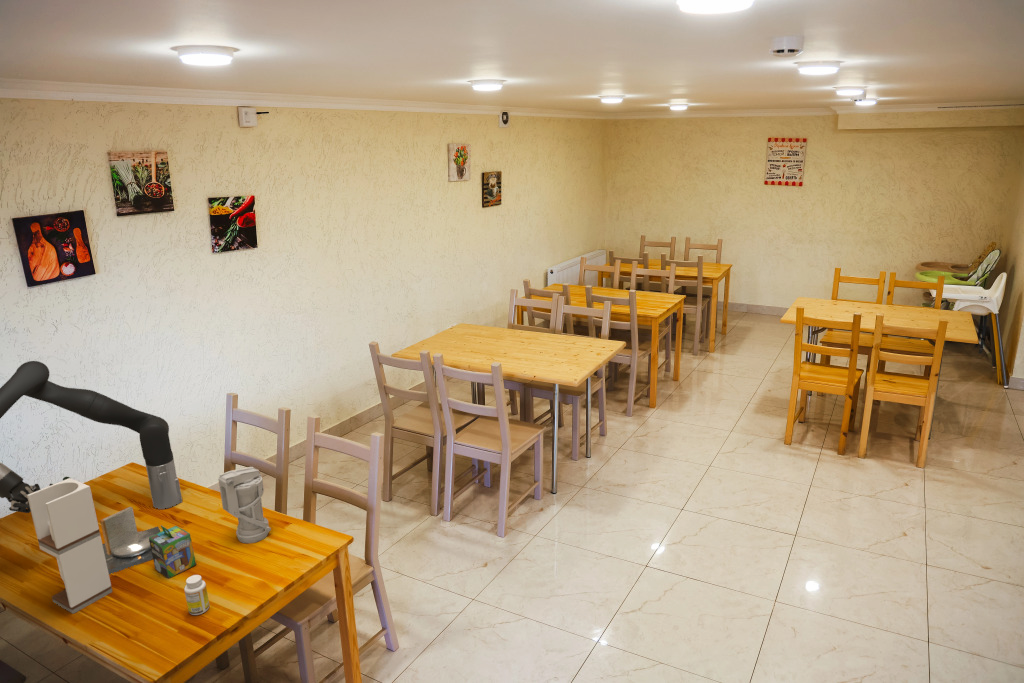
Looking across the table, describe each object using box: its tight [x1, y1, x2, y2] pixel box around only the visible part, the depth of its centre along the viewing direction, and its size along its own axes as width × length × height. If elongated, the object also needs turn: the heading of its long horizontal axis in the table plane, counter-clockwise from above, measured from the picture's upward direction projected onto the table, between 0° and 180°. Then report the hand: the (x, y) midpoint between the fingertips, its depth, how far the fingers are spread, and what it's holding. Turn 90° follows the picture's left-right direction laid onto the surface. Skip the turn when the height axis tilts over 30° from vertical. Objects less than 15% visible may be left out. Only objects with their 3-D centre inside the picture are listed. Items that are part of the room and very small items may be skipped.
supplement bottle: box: [183, 574, 210, 616], centre depth 194 cm, size 6×6×10 cm
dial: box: [99, 506, 155, 558], centre depth 222 cm, size 15×13×14 cm
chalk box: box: [149, 524, 197, 580], centre depth 214 cm, size 9×9×15 cm
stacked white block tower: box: [27, 477, 113, 614], centre depth 198 cm, size 11×11×35 cm
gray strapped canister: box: [218, 466, 272, 544], centre depth 228 cm, size 13×10×25 cm
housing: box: [102, 526, 162, 575], centre depth 225 cm, size 18×18×2 cm
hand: (48, 514), depth 213 cm, fingers closed
